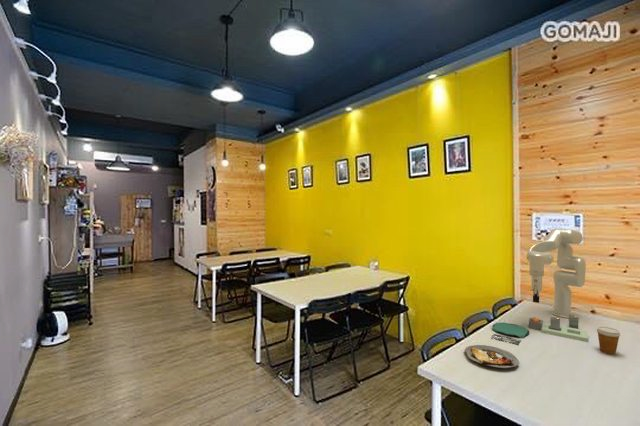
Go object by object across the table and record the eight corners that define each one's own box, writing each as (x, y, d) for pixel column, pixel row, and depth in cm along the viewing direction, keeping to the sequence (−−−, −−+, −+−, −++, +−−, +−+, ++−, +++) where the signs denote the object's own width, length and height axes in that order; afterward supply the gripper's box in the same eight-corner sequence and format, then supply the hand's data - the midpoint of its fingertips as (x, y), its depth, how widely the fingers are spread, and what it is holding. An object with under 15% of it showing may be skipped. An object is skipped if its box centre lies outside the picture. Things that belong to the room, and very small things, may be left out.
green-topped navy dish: (532, 331, 200) (532, 327, 200) (522, 348, 178) (522, 343, 178) (496, 323, 214) (496, 320, 214) (483, 338, 191) (483, 334, 191)
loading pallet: (527, 330, 201) (527, 322, 200) (530, 323, 212) (530, 316, 211) (588, 342, 183) (588, 334, 182) (587, 334, 194) (587, 326, 194)
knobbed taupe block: (568, 329, 202) (569, 316, 202) (568, 327, 206) (569, 314, 205) (578, 331, 199) (578, 318, 199) (578, 329, 203) (578, 316, 203)
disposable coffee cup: (610, 348, 176) (610, 326, 176) (624, 356, 167) (625, 333, 166) (591, 347, 177) (592, 325, 177) (605, 355, 168) (605, 332, 167)
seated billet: (550, 331, 197) (550, 318, 197) (550, 329, 201) (550, 316, 201) (559, 333, 194) (559, 320, 194) (559, 331, 198) (560, 318, 198)
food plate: (526, 374, 150) (526, 366, 150) (473, 369, 154) (472, 362, 154) (506, 351, 174) (506, 344, 174) (461, 348, 179) (461, 341, 179)
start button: (531, 323, 203) (532, 318, 203) (532, 321, 206) (532, 316, 206) (538, 324, 201) (538, 319, 201) (539, 322, 204) (539, 318, 204)
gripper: (542, 276, 194) (542, 306, 195) (544, 271, 207) (544, 300, 207) (528, 274, 199) (527, 303, 200) (530, 270, 211) (530, 298, 212)
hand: (536, 301), depth 203 cm, fingers closed
